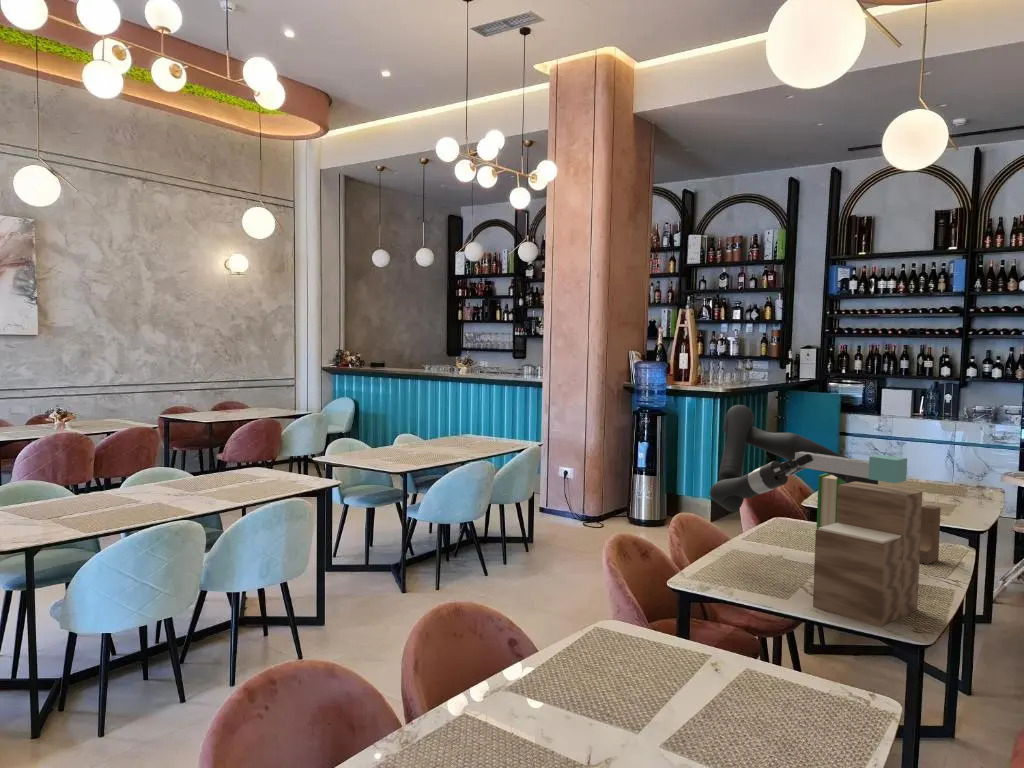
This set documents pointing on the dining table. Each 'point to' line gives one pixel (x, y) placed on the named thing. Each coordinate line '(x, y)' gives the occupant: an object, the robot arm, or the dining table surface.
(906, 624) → the dining table surface
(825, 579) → the stepped wooden riser
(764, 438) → the robot arm
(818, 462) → the mallet
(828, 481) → the hardback book
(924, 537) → the wooden block
